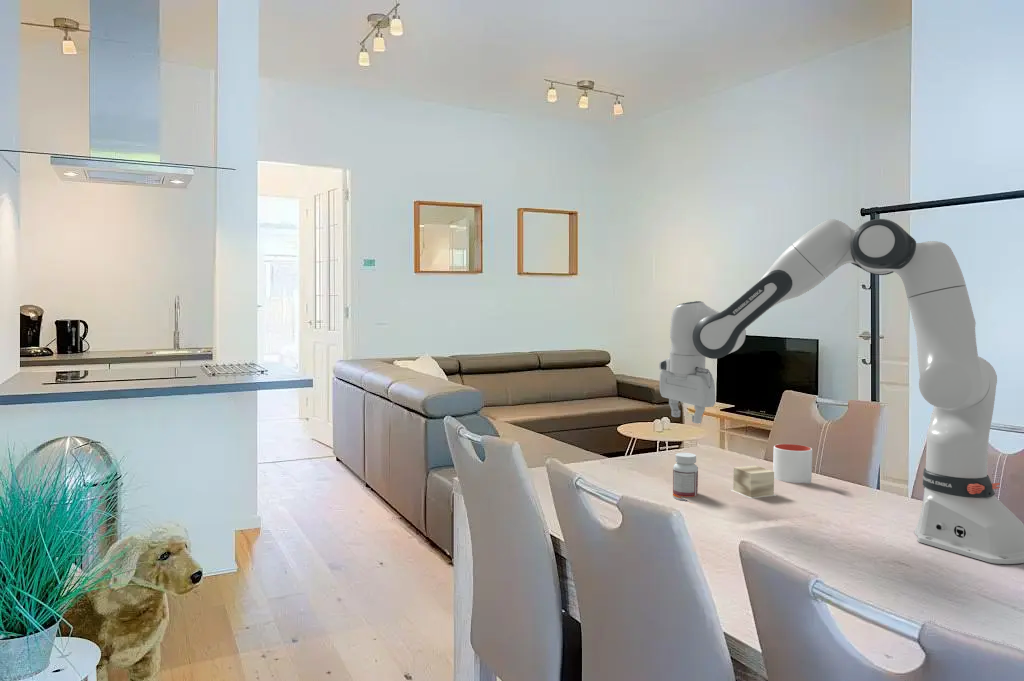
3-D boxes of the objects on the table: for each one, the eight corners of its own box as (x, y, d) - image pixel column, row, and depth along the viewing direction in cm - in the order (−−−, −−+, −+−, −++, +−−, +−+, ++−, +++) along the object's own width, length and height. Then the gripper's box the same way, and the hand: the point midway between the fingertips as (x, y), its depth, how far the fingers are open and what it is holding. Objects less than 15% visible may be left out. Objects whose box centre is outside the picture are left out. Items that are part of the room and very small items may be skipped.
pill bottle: (682, 493, 186) (683, 451, 185) (702, 499, 181) (703, 455, 180) (667, 498, 182) (668, 454, 181) (687, 503, 177) (688, 458, 177)
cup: (817, 487, 192) (818, 451, 192) (780, 487, 193) (781, 451, 192) (803, 478, 202) (803, 443, 202) (767, 478, 203) (768, 443, 202)
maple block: (773, 494, 180) (774, 471, 180) (750, 497, 178) (751, 473, 178) (755, 488, 187) (756, 465, 186) (733, 490, 184) (733, 467, 184)
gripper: (722, 369, 171) (721, 426, 172) (676, 361, 190) (675, 413, 191) (700, 369, 169) (698, 427, 170) (655, 362, 188) (654, 414, 189)
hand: (685, 419), depth 180 cm, fingers open, 8 cm apart
